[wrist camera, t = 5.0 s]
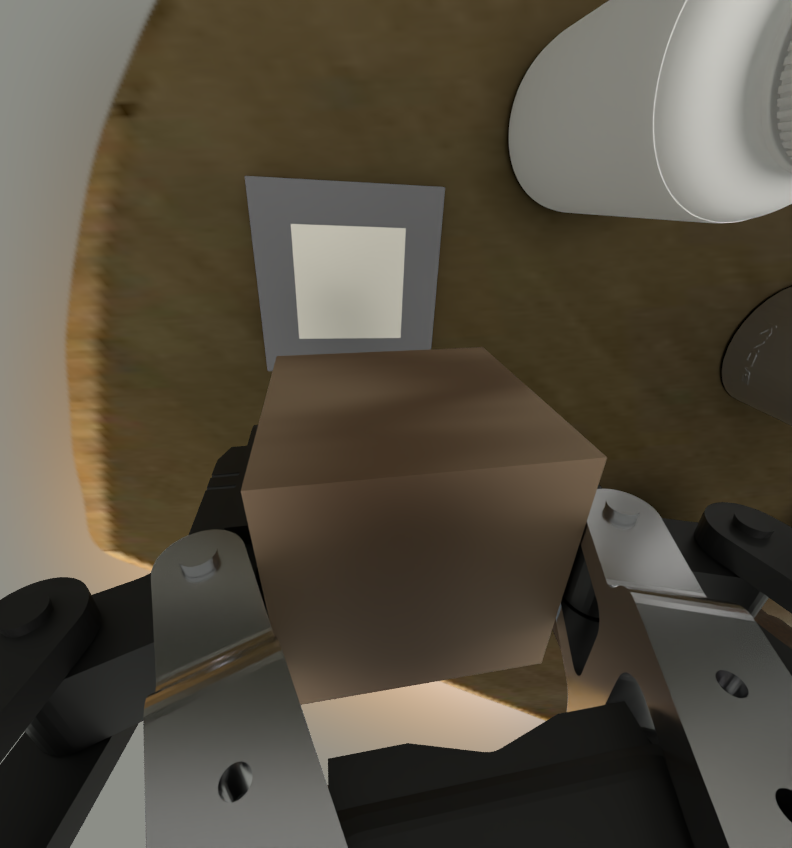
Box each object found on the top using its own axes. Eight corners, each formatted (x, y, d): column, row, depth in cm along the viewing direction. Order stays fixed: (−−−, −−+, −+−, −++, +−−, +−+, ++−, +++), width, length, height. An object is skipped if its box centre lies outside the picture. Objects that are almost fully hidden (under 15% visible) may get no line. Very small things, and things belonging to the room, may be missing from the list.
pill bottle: (501, 222, 23) (737, 250, 10) (506, 31, 19) (915, -339, 6) (630, 205, 24) (1007, 212, 11) (662, 19, 20) (1327, -332, 7)
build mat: (442, 187, 21) (445, 187, 21) (427, 364, 26) (429, 368, 26) (246, 176, 20) (244, 175, 19) (268, 367, 25) (267, 371, 24)
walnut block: (482, 347, 10) (606, 457, 6) (464, 502, 12) (541, 663, 8) (276, 356, 9) (240, 491, 5) (299, 520, 12) (288, 707, 7)
